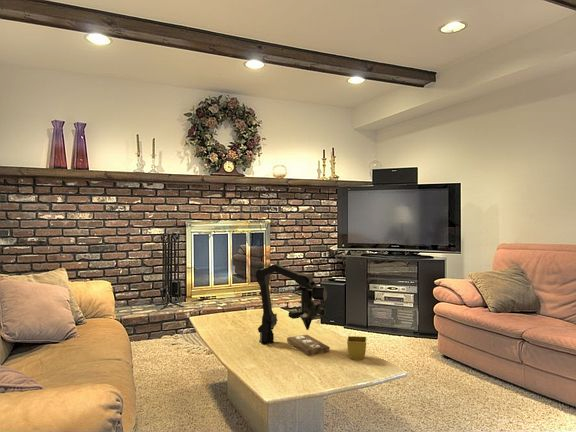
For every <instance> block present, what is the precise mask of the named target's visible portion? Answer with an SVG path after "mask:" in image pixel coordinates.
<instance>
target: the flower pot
mask: <svg viewBox="0 0 576 432" xmlns="http://www.w3.org/2000/svg"><path fill="white" fill-rule="evenodd" d="M346 343H347V352H348V355H349V357H350V358H351V360H359V361H361V360H362V361H363V360H364V358H365V356H366V351H367V348H366V347H367V336H351V335H350V336H347V341H346Z"/></svg>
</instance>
